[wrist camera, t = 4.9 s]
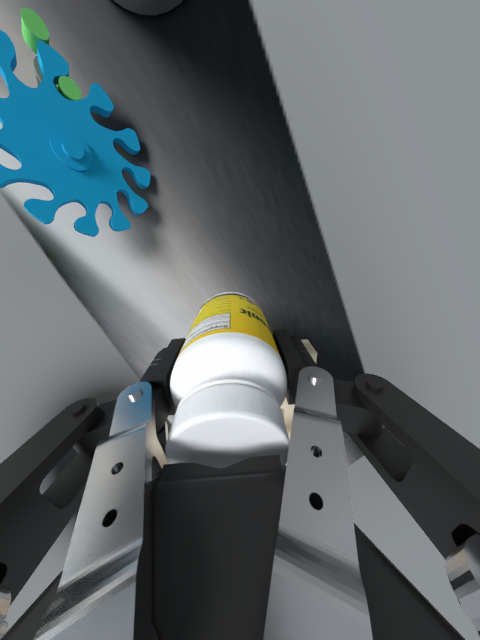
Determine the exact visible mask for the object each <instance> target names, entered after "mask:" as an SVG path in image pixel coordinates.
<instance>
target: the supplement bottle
mask: <svg viewBox="0 0 480 640" xmlns="http://www.w3.org/2000/svg"><path fill="white" fill-rule="evenodd" d="M170 392H171V396H172V400H173V402H174V404H175V406H176V408H177V411H176V413H175V416H174V419H173V422H172V426H171V429H170V433H169V436H168V439H167V442H166V448H165V456H166V460H167V462H168V464H175V463H187V462H194V463H198V464H202V465H206V466H210V467H215V468H224V467H227V466H229V465H232V464H234V463H237V462H240V461H242V460H245V459H247V458H250V457H257V456H269V455H280V460H281V465H285V464H286V463H287V458H288V451H289V443H290V440H289V437H288V433H287V429H286V426H285V422H284V416H283V413H282V410H281V408H280V407H281V405H282V404H283V402H284V399H285V397H286V393H287V374H286V370H285V367H284V364H283V361H282V359H281V356H280V353H279V351H278V349H277V347H276V344H275V341H274V339H273V336H272V334H271V331H270V329H269V326H268V324H267V321H266V319H265V316H264V314H263V312H262V310H261V308H260V307H259V305H258V304H257V303H256V302H255V301H254V300H253V299H251V298H250V297H248V296H246V295H244V294H241V293H237V292H225V293H220V294H217V295H215V296H213V297H211V298H210V299H208V300H207V301H206V302H205V303H204V304H203V305H202V307H201V308H200V310H199V312H198V314H197V316H196V318H195V320H194V323H193V325H192V327H191V329H190V332H189V334H188V336H187V338H186V340H185V343H184V345H183V347H182V349H181V351H180V353H179V356H178V358H177V360H176V362H175V365H174V368H173V370H172V374H171V379H170Z"/></svg>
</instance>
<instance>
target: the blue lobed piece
mask: <svg viewBox="0 0 480 640" xmlns="http://www.w3.org/2000/svg"><path fill="white" fill-rule="evenodd" d="M21 22H22V34H23V38H24V40H25V42H26V44H27V45H28V46H29V47H30V49H31V50H32V51H33V52H35V53H36V54H37V56H36V57H35V59H34V74H35V78H36V83H37V88H30V87H28V86H26V85H24V84H23V83H22V82H20V81H19V80H18V79H17V77H16V76H15V75H14V73H13V71H14V69H15V68H16V65H17V61H16V53H15V48H14V45H13V43H12V41H11V40H10V38H9V37H8V36H7V34H6V33H4V32H3V31H1V30H0V73H1V75H2V76H3V78H4V80H5V82H6V84H7V87H8V90H9V93H10V95H9V97H8V98H0V122H1V124H2V125H3V128H2V129H0V148H1V149H3V150H5V151H6V152H8V153H9V154H11V155H12V156H14V157H15V158H16V159H17V160H19V162H20V163H21V165H22V166H21V168H20V169H17V170H12V169H8V168H6V167H4V166H2V165H1V164H0V188H3V187H5V186H7V185H9V184H12V183H17V182H26V183H32V184H37V185H41V186H44V187H46V188H47V189H49V190H50V191H51V192H52V194H53V195H54V199H53V200H51V201H44V200H39V199H29V200H27V201H25V203H24V208H25V209H26V210H27V211H28V213H30V214H31V215H32V216H33V217H35V218H36V219H37V220H39V221H40V222H42V223H44V224H49V223H51V222H53V220H54V217H55V213H56V211H57V210H58V208H60V207H61V206H62V205H65V204H67V203H70V202H77V203H79V204H81V205H82V206H83V207H84V208H85V209H86V216H83V217H81V218H79V219H77V220H76V221H75V223H74V228H75V230H76V231H78V232H80V233H82V234H85V235H88V236H92V237H94V236H96V235H97V234H98V232H99V229H98V226H97V224H96V220H95V212H96V209H97V207H98V205H99V204H100V203H104V204H106V205H108V206H109V207H110V208H111V210H112V216H111V218H110V221H109V225H110V227H111V229H112V230H113V231H124V230H127V229H130V227H131V226H130V222H129V221H128V219H127V218H126V217H125V216H124V214H123V213H122V211H121V210H120V207H119V205H118V201H117V192H122V193H123V194H125V195H126V197H127V199H128V203H129V208H130V210H131V212H132V213H133V214H135V215H139V214H141V213H143V212H144V211H145V210H146V209H147V208H148V204H147V202H146V201H145V200H144V199H143V198H141V197H139V196H138V195H137V194H135V193H134V192H133V191H132V190H131V188H130V187H129V186H128V184H127V183H126V181H125V179H124V178H123V176H122V171H126V172H128V173H129V174H130V175H131V177H132V178H133V180H134V182H135V184H136V185H137V186H138V187H140V188H142V189H145V188H147V187H148V186H149V183H150V174H151V173H150V172H149V171H148V170H147V169H146V168H143V167H138V166H135V165H133V164H131V163H130V162H128V161H127V160H125V159H124V158H123V157H122V156H121V155H120V154H119V153H118V152H117V151H116V150H115V148H114V146H113V143H117V144H119V145H120V146H121V147H122V148H123V149H124V150H125V151H127V152H128V153H129V154H132V155H135V154H137V153H138V152H139V151H140V145H139V141H138V138H137V135H136V133H135V131H134V130H132V129H130V128H126V129H124V130H122V131H113V130H110V129H107V128H105V127H103V126H101V125H99V124H98V123H96V122H95V121H94V119H93V118H92V116H91V114H90V112H94V113H96V114H99V115H101V116H103V117H109V116H110V115H111V113H112V111H113V109H114V105H113V103H112V101H111V100H110V98H109V97H108V95H107V94H106V92H105V91H104V90H103V88H102V87H101V86H100V85H99V84H97V83H93V84H92V85H91V87H90V91H89V94H88V96H87V97H86V98H84V99H82V100H80V99H81V92H80V89H79V88H78V86H77V85H76V83H75V82H74V81H73V80H71V79H70V78H69V77H68V75H69V65H68V63H67V62H66V60H65V59H64V58H63V57H62V56H61V55H60V54H59V53H58V52H56V51H55V50H54V49H53V48H51V47H50V46H49V31H48V29H47V26H46V25H45V23H44V22H43V20H42V19H41V18H40V17H39V16H38V15H37V14H36V13H35V12H34V11H32V10H30V9H28V8H22V10H21Z"/></svg>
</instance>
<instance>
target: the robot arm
mask: <svg viewBox="0 0 480 640" xmlns="http://www.w3.org/2000/svg"><path fill="white" fill-rule="evenodd" d="M113 1H115V2H116V3H118V4H119V5H120V6H122V7H123V8H125V9H127V10H130V11H132V12H135V13H138V14H140V15H158V14H162V13H165V12H168V11H170V10H172V9H173V8H175V7H176V6H177V5H179V4H180V3H182V2H183V0H113ZM273 339H274V341H275V344H276V347H277V349H278V351H279V353H280V356H281V359H282V361H283V364H284V367H285V370H286V374H287V393H286V399H287V402H288V405H293V404H295V408H294V412H293V419H292V427H291V435H290V443H289V451H288V458H287V466H285V465H281V460H280V455H269V456H257V457H250V458H247V459H245V460H242V461H240V462H237V463H234V464H232V465H229V466H227V467H224V468H215V467H210V466H206V465H202V464H198V463H194V462H187V463H175V464H168V462H167V460H166V456H165V448H166V442H167V439H168V426H167V423H166V419H167V417H168V415H174V414H175V413H176V411H177V408H176V406H175V404H174V402H173V400H172V396H171V392H170V379H171V374H172V370H173V368H174V365H175V362H176V360H177V358H178V356H179V353H180V351H181V349H182V347H183V345H184V343H185V340H186V339H185V338H181V339H172V340H171V342H170V344H169V345H168V347H167V348H164V349H162V350H161V351H160V352H159V353H157V355H156V357H155V358H154V360H153V361H152V363H151V365H150V366H149V368H148V369H147V371H146V372H145V374H144V375H143V377H142V379H141V380H140V382H138V383H135V384H132V385H130V386H129V387H127V388H126V389H124V390H123V391H122V392H121V393H120V395H119V396H118V398H117V399H116V400H113V401H110V402H107V403H104V404H101V405H99V404H98V402H97V401H96V399H94V398H85V399H81V400H79V401H77V402H74V403H73V404H71V405H69V406H68V407H66V408H65V409H64V410H63V411H61V412H60V413H59V414H58V415H57V416H56V417H55V418H53V419H52V420H51V421H50V422H49V423H47V424H46V425H45V426H44V427H43V428H42V429H40V430H39V431H38V432H37V433H36V434H35V435H34V436H32V437H31V438H30V439H29V440H28V441H27V442H25V443H24V444H23V445H22V446H21V447H20V448H18V449H17V450H16V451H15V452H14V453H13V454H11V455H10V456H9V457H8V458H7V459H6V460H4V461H3V462H2V463H1V464H0V640H465V639H464V638H463V637H462V636H461V635H460V634H459V633H458V631H457V630H456V629H455V628H454V627H453V626H452V625H451V624H450V623H449V622H448V621H447V620H446V619H445V618H444V617H443V616H442V615H441V614H440V613H439V612H438V611H437V610H436V609H435V607H434V606H433V605H432V604H431V603H430V602H429V601H428V600H427V599H426V598H425V597H424V596H423V595H422V594H421V593H420V592H419V591H418V590H417V589H416V588H415V586H414V585H413V584H412V583H411V582H410V581H409V580H408V579H407V578H406V577H405V576H404V575H403V574H402V573H401V572H400V571H399V570H398V569H397V568H396V567H395V565H394V564H392V563H391V561H390V560H389V559H388V558H387V557H386V556H385V555H384V554H383V553H382V552H381V551H380V550H379V549H378V548H377V547H376V546H375V544H374V543H373V542H372V541H371V540H370V539H369V538H368V537H367V536H366V535H365V534H364V533H363V532H362V531H361V530H360V529H359V528H358V527H357V526H356V525H355V524H354V522H353V514H352V506H351V497H350V490H349V481H348V473H347V464H346V456H345V448H344V440H343V432H342V431H345V432H347V433H348V435H349V436H350V437H351V439H352V440H353V441H354V442H355V444H356V445H357V446H358V448H359V449H360V450H361V451H362V453H363V454H364V455H365V457H366V458H367V459H368V460H369V462H370V463H371V464H372V465H373V467H374V468H375V469H376V471H377V472H378V473H379V474H380V476H381V477H382V478H383V480H384V481H385V482H386V484H387V485H388V486H389V487H390V489H391V490H392V491H393V493H394V494H395V495H396V496H397V498H398V499H399V500H400V502H401V503H402V504H403V505H404V507H405V508H406V509H407V511H408V512H409V513H410V514H411V516H412V517H413V518H414V520H415V521H416V522H417V523H418V525H419V526H420V527H421V528H422V530H423V531H424V532H425V534H426V535H427V536H428V538H429V539H430V540H431V541H432V543H433V544H434V545H435V546H436V548H437V549H438V550H439V552H440V553H441V554H442V556H443V557H444V558H445V559H446V571H447V576H448V579H449V582H450V584H451V586H452V589H453V591H454V592H455V595H456V596H457V599H458V601H459V604H460V605H461V607H462V609H463V610H464V612H465V613H466V615H467V616H468V617H469V618H470V619H471V620H472V622H473V624H474V626H475V628H476V630H477V632H478V634H479V636H480V449H479V448H477V447H476V446H475V445H473V444H472V443H471V442H469V441H468V440H467V439H465V438H464V437H463V436H461V435H460V434H459V433H457V432H456V431H455V430H453V429H452V428H451V427H449V426H448V425H447V424H445V423H444V422H442V421H441V420H440V419H438V418H437V417H436V416H434V415H433V414H432V413H430V412H429V411H427V410H426V409H425V408H424V407H422V406H421V405H419V404H418V403H417V402H416V401H414V400H413V399H411V398H410V397H408V396H407V395H406V394H405V393H403V392H402V391H401V390H399V389H398V388H397V387H395V386H394V385H393V384H391V383H390V382H389V381H387V380H385V379H384V378H382V377H379V376H376V375H373V374H360V375H358V376H356V377H355V380H354V382H351V381H344V380H338V379H334V378H332V376H331V375H330V374H329V373H328V372H327V371H326V370H324V369H322V368H319V367H318V366H317V365H316V363H315V361H314V360H313V358H312V357H311V355H310V353H309V352H308V351H307V349H306V347H305V346H304V344H303V342H302V341H301V340H300V339H298V338H297V337H296V336H291V337H290V336H289V335H288V333H287V331H286V329H280V330H273ZM399 441H400V442H401V443H402V444H403V445H404V446H403V445H402V444H401V443H400V442H399ZM72 447H73V448H74V449H75V450H76V451H77V452H78V454H77V455H76V457H75V458H74V459H73V460H72V461H71V462H70V464H69V465H68V466H67V467H66V468H65V469H64V471H62V473H61V474H60V475H59V476H58V477H57V478H56V480H55V481H54V482H53V483H52V484H51V485H50V486H49V488H48V489H47V490H46V491H45V492H44V493H43V494H42V495H41V494H40V492H39V488H40V485H41V483H42V481H43V479H44V478H45V476H46V475H47V474H48V473H49V472H50V471H51V470H52V469H53V468H54V467H55V465H56V464H57V463H58V462H59V461H60V460H61V459H62V458H63V457H64V456H65V455H66V454H67V452H68V451H69V450H70V449H71V448H72ZM79 506H80V509H79V513H78V517H77V521H76V524H75V528H74V531H73V535H72V539H71V543H70V546H69V550H68V554H67V558H66V561H65V566H64V569H63V571H62V572H61V573H60V574H59V575H58V576H57V577H56V578H55V579H54V580H53V582H52V583H51V584H50V585H49V586H48V587H47V589H45V591H44V592H43V593H42V594H41V595H40V596H39V597H38V598H37V599H36V600H35V602H34V603H33V604H32V605H31V606H30V607H29V608H28V609H27V610H26V612H25V613H24V614H23V615H22V616H21V617H20V618H19V619H18V621H17V622H16V623H15V624H14V625H13V626H12V627H11V628H10V629H9V631H8V632H7V629H8V623H7V622H6V621H4V620H5V618H6V616H7V613H8V610H9V607H10V605H11V603H12V602H13V601H14V599H15V598H16V596H17V595H18V594H19V592H20V591H21V589H22V588H23V586H24V585H25V583H26V582H27V581H28V579H29V578H30V576H31V575H32V573H33V572H34V571H35V569H36V568H37V566H38V565H39V564H40V562H41V560H42V559H43V558H44V556H45V555H46V553H47V552H48V551H49V549H50V548H51V546H52V545H53V544H54V542H55V541H56V539H57V538H58V536H59V535H60V534H61V532H62V531H63V529H64V528H65V526H66V525H67V524H68V522H69V520H70V519H71V518H72V516H73V515H74V514H75V512H76V511H77V509H78V508H79ZM6 632H7V633H6Z"/></svg>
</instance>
